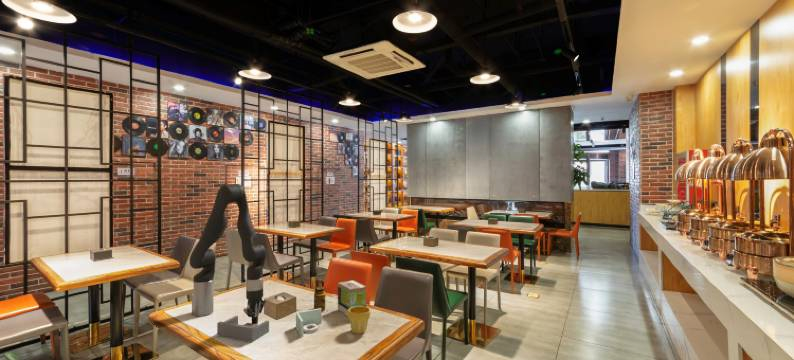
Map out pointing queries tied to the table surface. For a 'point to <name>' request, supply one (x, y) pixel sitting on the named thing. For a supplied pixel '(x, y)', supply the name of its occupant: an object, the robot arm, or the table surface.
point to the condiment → (319, 299)
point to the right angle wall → (308, 320)
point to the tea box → (350, 295)
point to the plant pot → (358, 318)
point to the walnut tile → (251, 324)
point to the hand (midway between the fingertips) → (254, 324)
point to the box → (241, 330)
